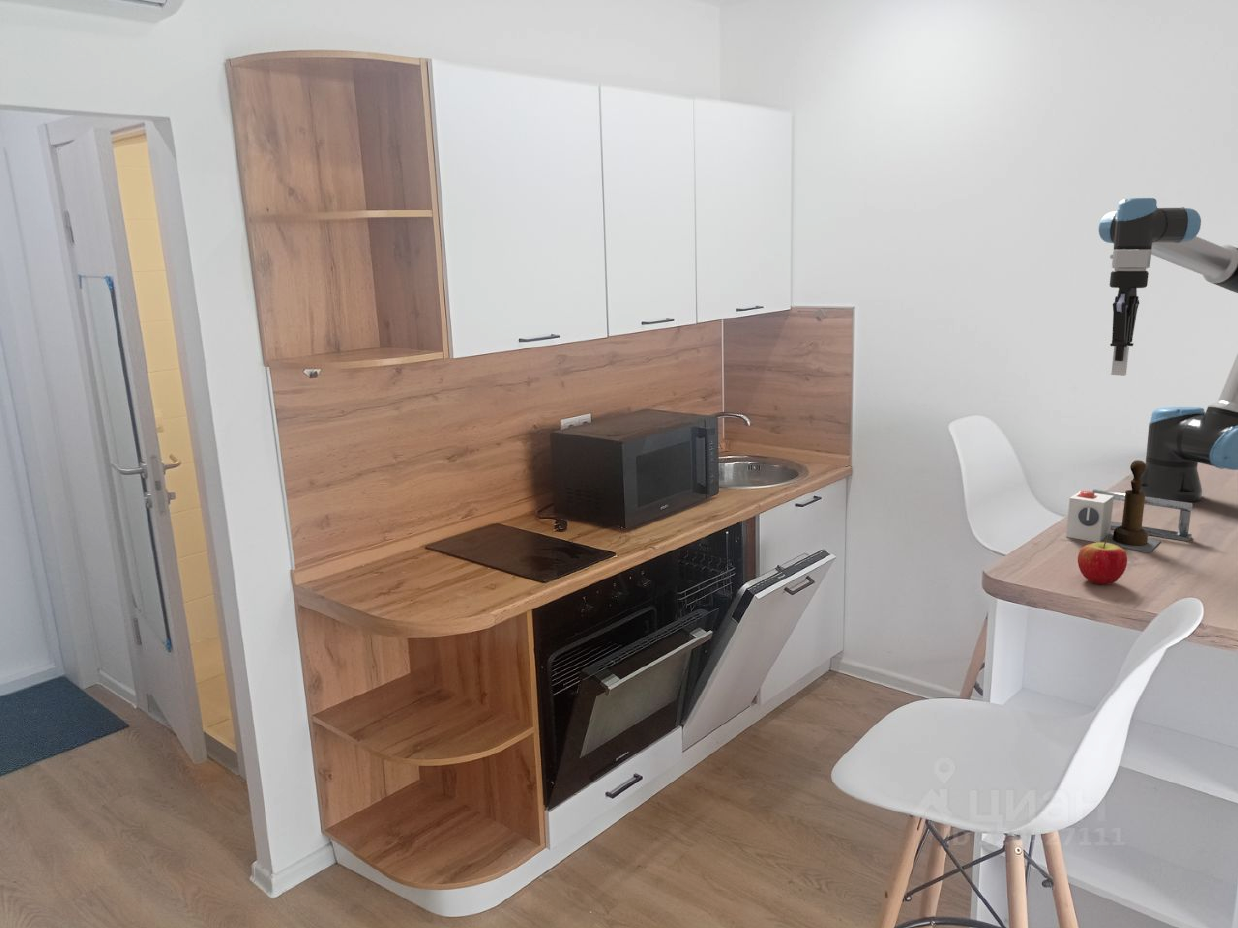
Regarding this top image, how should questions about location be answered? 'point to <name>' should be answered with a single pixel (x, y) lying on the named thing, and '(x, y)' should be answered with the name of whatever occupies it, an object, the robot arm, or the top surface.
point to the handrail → (1182, 506)
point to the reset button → (1087, 494)
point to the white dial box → (1089, 517)
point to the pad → (1143, 548)
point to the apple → (1102, 562)
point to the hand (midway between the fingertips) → (1118, 374)
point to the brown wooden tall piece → (1133, 511)
